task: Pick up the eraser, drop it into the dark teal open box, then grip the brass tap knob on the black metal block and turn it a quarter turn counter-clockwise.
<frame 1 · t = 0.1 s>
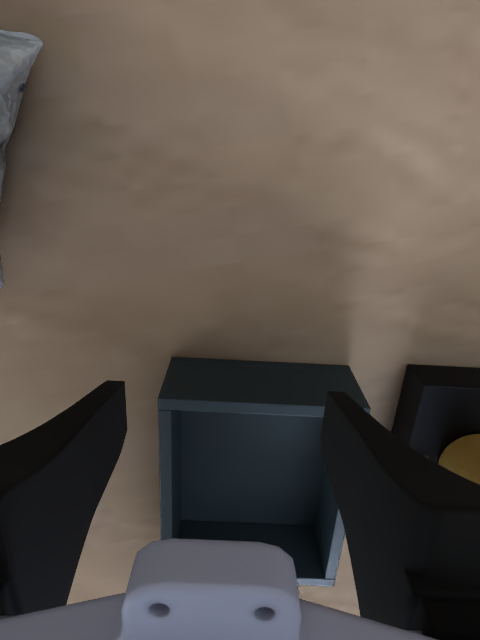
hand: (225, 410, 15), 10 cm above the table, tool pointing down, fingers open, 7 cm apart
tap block: (451, 433, 27), on the table
dark teal open box: (253, 449, 28), on the table
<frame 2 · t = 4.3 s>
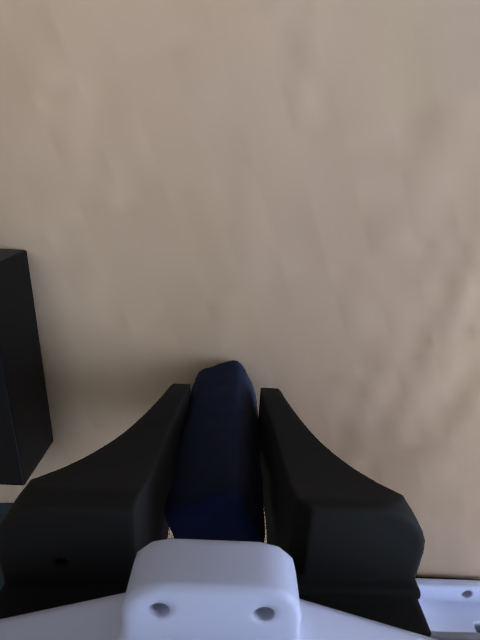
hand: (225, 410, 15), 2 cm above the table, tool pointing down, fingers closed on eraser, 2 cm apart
eraser: (225, 383, 16), on the table, touching gripper
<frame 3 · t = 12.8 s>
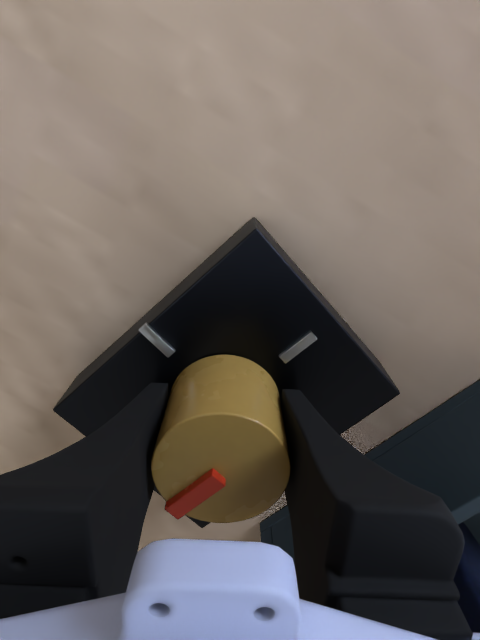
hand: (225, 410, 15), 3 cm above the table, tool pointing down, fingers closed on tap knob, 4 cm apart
tap knob: (222, 436, 13), point 4 cm above the table, hinge at 0.1°, touching gripper
eraser: (434, 523, 20), resting on dark teal open box
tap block: (226, 368, 17), on the table
dark teal open box: (432, 516, 20), on the table
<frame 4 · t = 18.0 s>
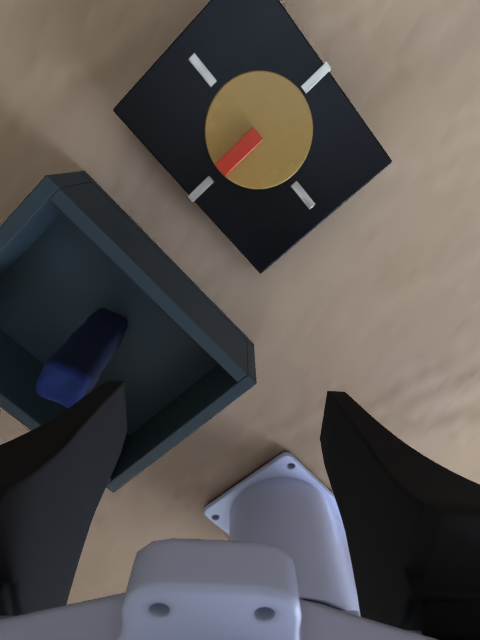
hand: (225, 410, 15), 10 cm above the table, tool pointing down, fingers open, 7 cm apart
tap knob: (257, 134, 17), point 4 cm above the table, hinge at 90.2°
eraser: (109, 324, 24), resting on dark teal open box
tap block: (253, 138, 21), on the table
dark teal open box: (111, 323, 25), on the table
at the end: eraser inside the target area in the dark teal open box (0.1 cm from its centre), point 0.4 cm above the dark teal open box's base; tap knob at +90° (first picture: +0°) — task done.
